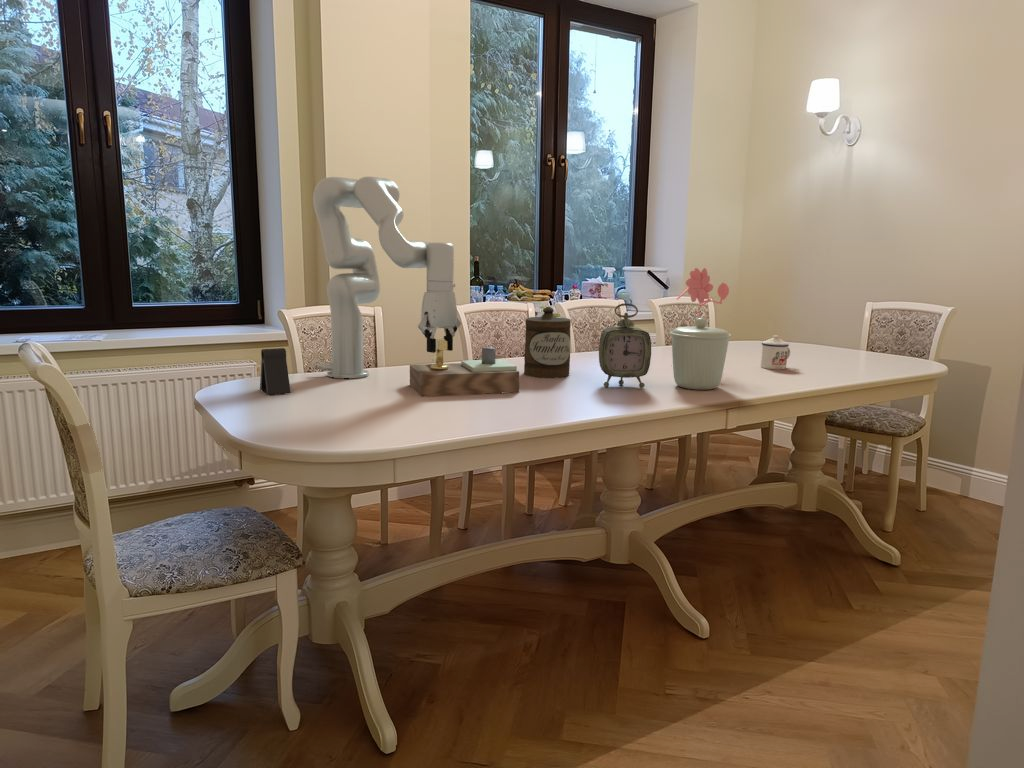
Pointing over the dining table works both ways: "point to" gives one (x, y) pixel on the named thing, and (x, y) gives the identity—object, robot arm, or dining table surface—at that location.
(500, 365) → the lid
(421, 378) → the walnut case
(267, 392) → the black folding stand
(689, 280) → the pink paper flower
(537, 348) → the wooden container
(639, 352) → the tabletop clock
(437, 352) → the t-shaped display stand
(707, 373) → the canister
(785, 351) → the teacup with lid
